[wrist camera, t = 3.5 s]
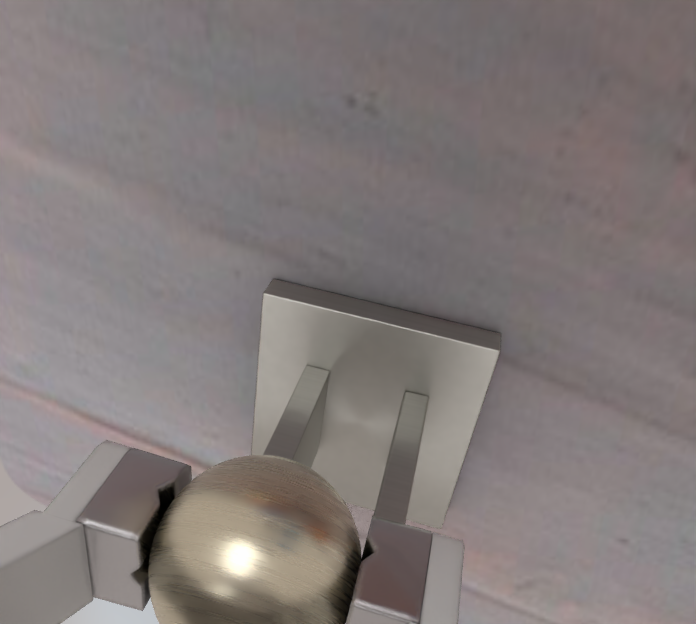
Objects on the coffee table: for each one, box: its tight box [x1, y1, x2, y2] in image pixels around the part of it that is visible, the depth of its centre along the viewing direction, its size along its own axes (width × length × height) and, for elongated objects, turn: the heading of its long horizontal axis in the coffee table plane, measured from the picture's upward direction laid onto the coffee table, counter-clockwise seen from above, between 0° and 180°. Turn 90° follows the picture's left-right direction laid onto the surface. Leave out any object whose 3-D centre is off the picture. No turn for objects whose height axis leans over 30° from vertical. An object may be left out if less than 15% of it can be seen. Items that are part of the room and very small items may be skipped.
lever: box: [148, 455, 362, 624], centre depth 14 cm, size 13×3×3 cm, turn 172°
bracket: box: [251, 279, 501, 529], centre depth 22 cm, size 10×9×13 cm
